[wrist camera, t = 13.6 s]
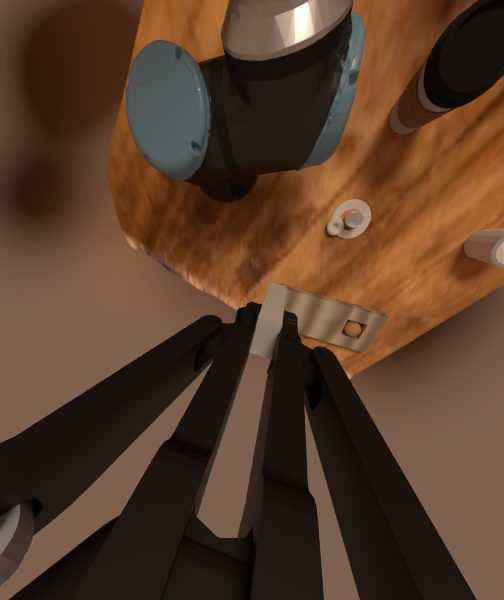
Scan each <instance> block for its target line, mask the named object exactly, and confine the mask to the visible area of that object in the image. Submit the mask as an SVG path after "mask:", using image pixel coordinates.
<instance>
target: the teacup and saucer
mask: <svg viewBox="0 0 504 600" xmlns="http://www.w3.org/2000/svg"><path fill="white" fill-rule="evenodd" d="M348 209H357V210H358V211H354V212H351V213H349V214H348V215H347V216H346V217H345V223H346V225H347V226H349V227H352V228H355V227H356V228H355V229H353V230H344V229H343V228H344V222H343V220H342V219H340V217H341V215H342V214H343V213H344V212H345V211H346V210H348ZM370 218H371V212H370V208H369V206H368V205H367V204H366V203H365V202H364V201H362V200H358V199H352V200H348V201H345V202H344V203H342V204H341V205H339V206H338V207H337V209H336V210H335V211H334V213H333V215H332V219H331V220H330V221H329V222H328V224H327V231H328V233H329V234H330V235H337V236H339V237H341V238H345V239H349V238H354V237H356V236H358V235H360V234H361V233H362V232H363V231H364V230H365V229H366V228H367V226H368V224H369V222H370Z"/></svg>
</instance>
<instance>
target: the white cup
mask: <svg viewBox="0 0 504 600" xmlns="http://www.w3.org/2000/svg"><path fill="white" fill-rule="evenodd" d="M464 252H465V254H466V255H468V256H470V257H472V258H475V259H478V260H480V261H483V262H486V263H489V264H491V265H494V266H497V267H500V268H504V229H484V230H481V231H478V232H476V233H474V234H472V235H471V236H470V237H469V238H468V239H467V240H466V242H465V244H464Z"/></svg>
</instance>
